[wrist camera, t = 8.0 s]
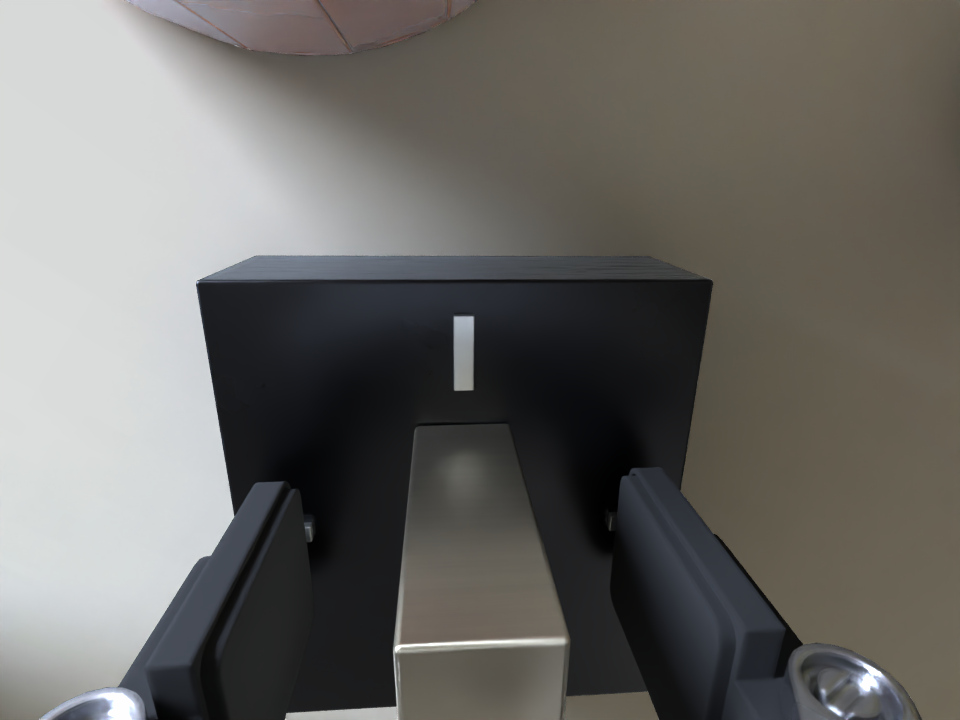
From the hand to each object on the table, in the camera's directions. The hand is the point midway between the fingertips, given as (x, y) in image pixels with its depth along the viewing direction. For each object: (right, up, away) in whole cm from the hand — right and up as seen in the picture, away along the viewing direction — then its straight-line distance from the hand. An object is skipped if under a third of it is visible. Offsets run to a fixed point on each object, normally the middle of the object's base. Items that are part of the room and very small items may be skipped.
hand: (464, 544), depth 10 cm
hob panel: (0, +1, +3) cm, 4 cm away
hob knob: (0, 0, +1) cm, 1 cm away
